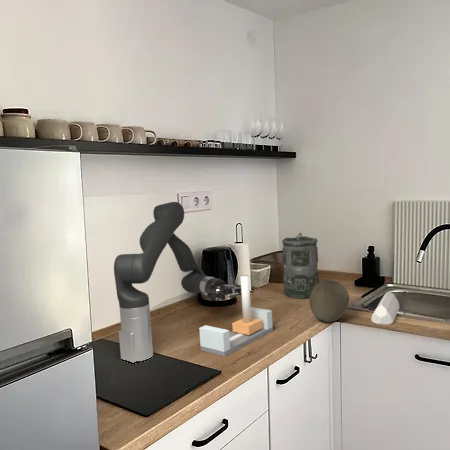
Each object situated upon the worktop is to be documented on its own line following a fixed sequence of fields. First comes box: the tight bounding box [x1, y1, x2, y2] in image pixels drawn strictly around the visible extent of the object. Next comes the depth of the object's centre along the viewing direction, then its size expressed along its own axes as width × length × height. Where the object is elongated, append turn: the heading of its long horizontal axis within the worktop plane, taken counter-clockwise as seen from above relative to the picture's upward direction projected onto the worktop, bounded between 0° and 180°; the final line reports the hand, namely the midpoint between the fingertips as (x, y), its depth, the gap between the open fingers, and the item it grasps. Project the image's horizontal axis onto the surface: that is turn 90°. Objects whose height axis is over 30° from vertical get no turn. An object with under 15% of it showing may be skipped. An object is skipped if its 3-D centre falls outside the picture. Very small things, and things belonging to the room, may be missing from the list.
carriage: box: [231, 274, 263, 335], centre depth 160 cm, size 8×7×19 cm
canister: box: [281, 232, 320, 300], centre depth 210 cm, size 16×16×28 cm
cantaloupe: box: [309, 280, 350, 324], centre depth 171 cm, size 14×14×15 cm
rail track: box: [199, 306, 274, 358], centre depth 157 cm, size 27×10×8 cm, turn 141°
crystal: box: [370, 290, 400, 325], centre depth 174 cm, size 7×7×24 cm
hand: (234, 295), depth 166 cm, fingers open, 8 cm apart
